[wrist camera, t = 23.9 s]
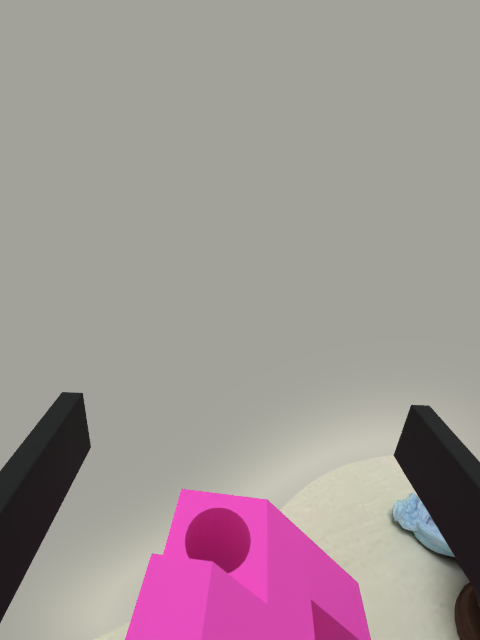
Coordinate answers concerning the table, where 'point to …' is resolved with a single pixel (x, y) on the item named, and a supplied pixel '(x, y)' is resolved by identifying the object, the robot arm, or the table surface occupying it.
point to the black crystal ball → (468, 613)
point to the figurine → (420, 524)
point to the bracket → (243, 579)
